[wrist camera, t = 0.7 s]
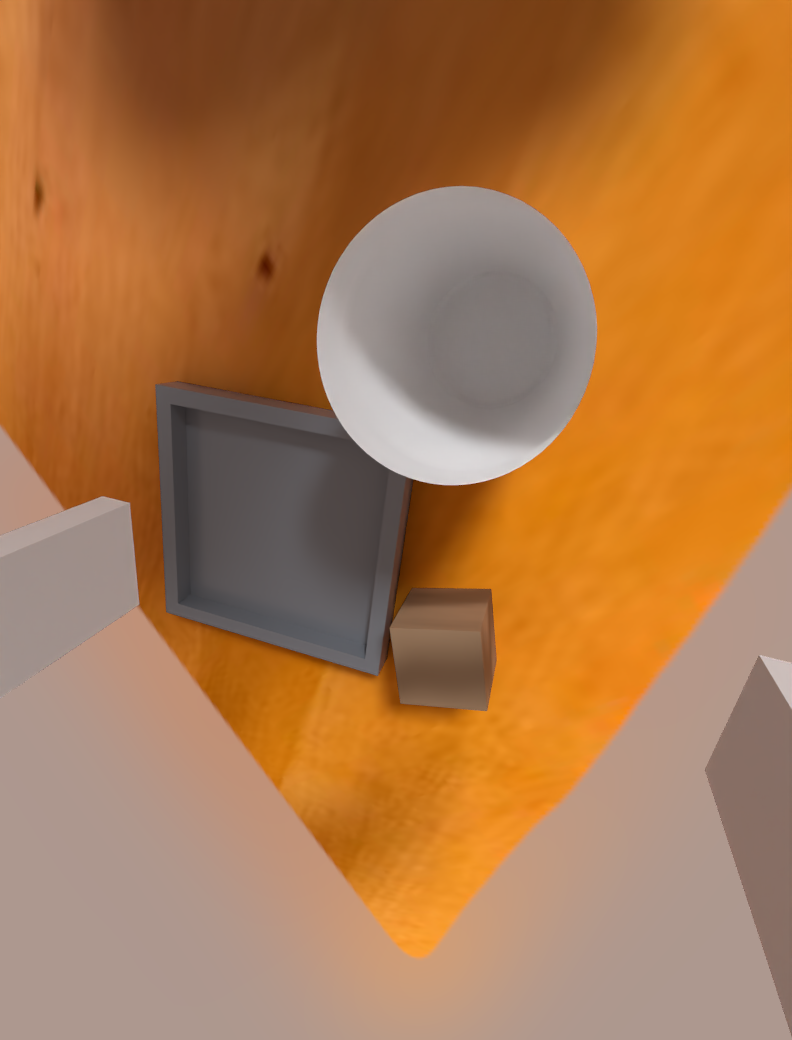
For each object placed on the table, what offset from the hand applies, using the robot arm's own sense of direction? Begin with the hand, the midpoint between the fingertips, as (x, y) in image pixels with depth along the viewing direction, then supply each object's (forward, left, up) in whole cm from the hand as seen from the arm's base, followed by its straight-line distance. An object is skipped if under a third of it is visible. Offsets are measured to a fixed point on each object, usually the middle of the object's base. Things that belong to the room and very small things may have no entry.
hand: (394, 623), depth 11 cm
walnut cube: (+12, 0, -20) cm, 23 cm away
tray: (+8, -12, -19) cm, 24 cm away
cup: (-5, -1, -20) cm, 20 cm away
